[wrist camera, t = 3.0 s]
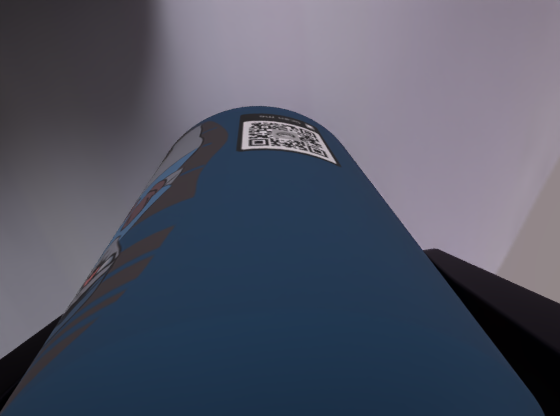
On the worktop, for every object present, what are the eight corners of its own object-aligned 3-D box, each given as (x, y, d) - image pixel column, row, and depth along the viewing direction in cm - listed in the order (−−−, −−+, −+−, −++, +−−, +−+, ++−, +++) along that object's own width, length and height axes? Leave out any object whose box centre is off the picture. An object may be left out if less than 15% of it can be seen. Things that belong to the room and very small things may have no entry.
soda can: (326, 280, 16) (490, 832, 5) (157, 261, 15) (-96, 898, 4) (375, 118, 13) (1018, 595, 2) (168, 80, 12) (-654, 619, 1)
